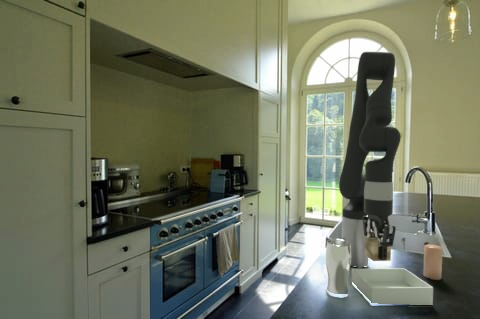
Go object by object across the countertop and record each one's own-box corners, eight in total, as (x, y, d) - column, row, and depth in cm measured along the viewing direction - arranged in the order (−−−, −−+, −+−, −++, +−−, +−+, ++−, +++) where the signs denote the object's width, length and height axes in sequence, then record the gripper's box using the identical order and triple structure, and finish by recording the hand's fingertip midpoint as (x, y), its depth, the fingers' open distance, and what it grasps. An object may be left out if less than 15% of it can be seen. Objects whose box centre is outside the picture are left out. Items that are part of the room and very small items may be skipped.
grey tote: (371, 306, 79) (372, 288, 79) (351, 284, 92) (351, 268, 92) (432, 305, 80) (433, 287, 80) (404, 284, 93) (404, 268, 93)
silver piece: (330, 285, 91) (331, 237, 90) (353, 292, 87) (355, 242, 86) (320, 294, 86) (322, 242, 85) (345, 302, 81) (346, 248, 81)
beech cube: (390, 260, 83) (390, 242, 83) (373, 261, 82) (373, 243, 82) (380, 254, 88) (381, 237, 88) (364, 254, 87) (364, 237, 87)
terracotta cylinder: (425, 278, 97) (426, 248, 97) (421, 272, 102) (422, 243, 101) (443, 280, 96) (444, 250, 95) (438, 274, 100) (439, 245, 100)
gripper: (406, 201, 78) (405, 265, 78) (377, 193, 92) (376, 247, 93) (378, 201, 77) (377, 266, 78) (354, 193, 92) (353, 248, 92)
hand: (377, 255), depth 85 cm, fingers closed on beech cube, 5 cm apart
